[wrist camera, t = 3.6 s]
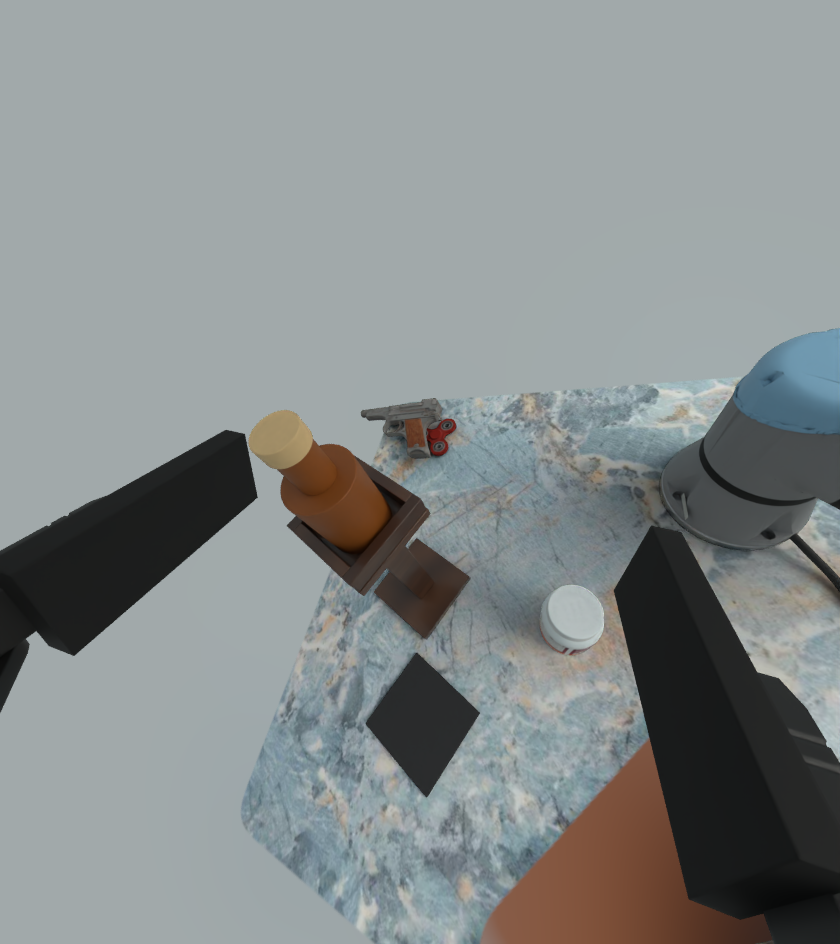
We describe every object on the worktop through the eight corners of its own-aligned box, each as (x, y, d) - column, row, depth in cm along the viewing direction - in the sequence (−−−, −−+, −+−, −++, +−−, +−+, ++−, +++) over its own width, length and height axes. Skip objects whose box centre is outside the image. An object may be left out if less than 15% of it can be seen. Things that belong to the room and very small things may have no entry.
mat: (480, 712, 41) (479, 713, 41) (427, 796, 38) (426, 797, 38) (417, 652, 46) (416, 652, 46) (366, 723, 43) (365, 723, 43)
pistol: (433, 459, 60) (447, 403, 65) (427, 451, 58) (442, 395, 63) (348, 462, 69) (367, 413, 74) (341, 456, 67) (361, 406, 72)
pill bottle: (593, 608, 44) (611, 585, 35) (591, 662, 41) (610, 653, 32) (541, 597, 46) (545, 573, 37) (536, 648, 43) (539, 635, 34)
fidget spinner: (412, 438, 66) (409, 434, 65) (440, 413, 67) (438, 409, 66) (439, 459, 61) (437, 455, 60) (469, 433, 62) (468, 428, 61)
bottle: (405, 513, 31) (339, 415, 20) (359, 567, 30) (261, 492, 19) (361, 482, 34) (283, 382, 23) (317, 530, 33) (211, 446, 22)
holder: (470, 578, 50) (431, 496, 29) (426, 639, 47) (349, 597, 26) (418, 540, 55) (353, 447, 34) (375, 593, 52) (277, 527, 31)
